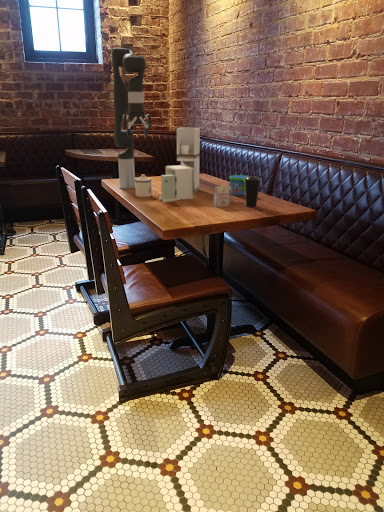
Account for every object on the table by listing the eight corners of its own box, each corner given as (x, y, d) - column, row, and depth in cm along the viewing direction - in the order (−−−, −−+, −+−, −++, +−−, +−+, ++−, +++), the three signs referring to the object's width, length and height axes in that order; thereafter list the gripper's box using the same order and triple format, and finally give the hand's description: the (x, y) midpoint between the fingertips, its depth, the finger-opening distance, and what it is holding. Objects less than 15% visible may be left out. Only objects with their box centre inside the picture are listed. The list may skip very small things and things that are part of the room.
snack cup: (223, 192, 231) (224, 174, 228) (240, 191, 235) (241, 173, 231) (235, 198, 217) (236, 179, 214) (253, 196, 221) (254, 178, 217)
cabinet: (152, 196, 219) (151, 167, 214) (182, 193, 227) (182, 165, 222) (164, 202, 207) (163, 170, 201) (194, 198, 215) (195, 168, 209)
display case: (181, 188, 242) (181, 127, 229) (199, 189, 240) (199, 127, 227) (177, 192, 231) (176, 128, 219) (195, 193, 229) (195, 128, 217)
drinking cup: (241, 204, 203) (243, 164, 196) (256, 204, 204) (259, 164, 197) (245, 208, 196) (247, 166, 189) (260, 207, 197) (263, 166, 190)
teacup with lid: (153, 197, 219) (152, 175, 215) (136, 197, 217) (135, 176, 213) (150, 192, 230) (149, 172, 226) (134, 193, 228) (133, 172, 224)
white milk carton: (213, 205, 201) (214, 185, 197) (226, 204, 203) (226, 184, 199) (216, 207, 197) (216, 187, 194) (229, 206, 199) (229, 186, 196)
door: (161, 200, 212) (161, 175, 207) (172, 199, 214) (171, 174, 210) (165, 201, 208) (164, 176, 203) (175, 200, 211) (175, 175, 206)
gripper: (147, 101, 202) (148, 135, 208) (119, 101, 196) (121, 136, 202) (152, 102, 195) (153, 136, 202) (124, 102, 190) (126, 138, 196)
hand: (137, 136), depth 202 cm, fingers open, 8 cm apart
